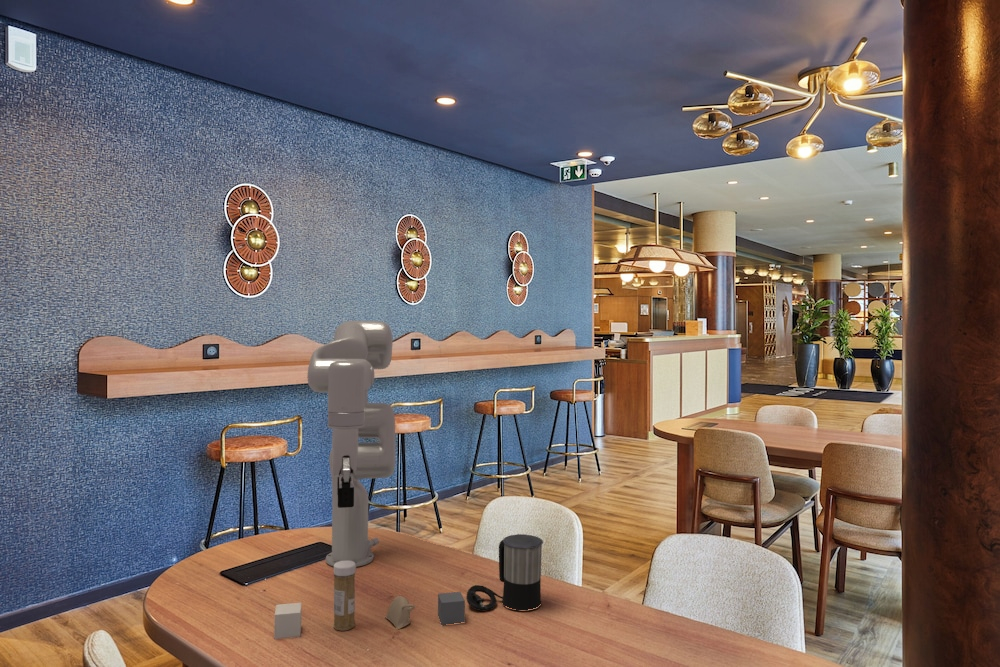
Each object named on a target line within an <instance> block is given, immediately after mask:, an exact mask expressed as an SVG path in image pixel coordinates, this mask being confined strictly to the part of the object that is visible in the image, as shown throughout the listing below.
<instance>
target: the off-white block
mask: <svg viewBox="0 0 1000 667" xmlns="http://www.w3.org/2000/svg"><path fill="white" fill-rule="evenodd" d="M274 611H275V612H274V625H273V626H274V633H273V634H274V636H273V637H274V640H277V639H278V640H280V639H288V638H297V637H299V638H300V637H301V630H302V602H294V603H291V602H290V603H283V604H276V605H275V610H274Z"/></svg>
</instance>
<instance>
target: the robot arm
mask: <svg viewBox="0 0 1000 667" xmlns="http://www.w3.org/2000/svg"><path fill="white" fill-rule="evenodd" d="M392 354H393V334H392V330H391V327H390V326H389V325H388V323H386V322H385V321H381V320H347V321H344V322H342V323H340V324H339V325H338V326H337V328H336V329H335V331H334V337H333V340H331V341H329V342H328V343H325V344H324V345H321V346H319V347H318V348H316V349H315V350H314V351H313V352H312V354H311V356H310V360H309V364H308V367H307V382H308V386H309V388H310V389H311V390H312V391H313V392H315V393H320V394H321V393H323V394H324V393H326V394H327V428H328V429H332V435H331V436H332V437H331V451H330V452H329V456H328V457H329V458H328V463H329V470H330V477H331V489H332V490H331V493H332V494H331V495H332V498H331V500H332V504H331V505H332V512H331V513H332V514H331V521H332V522H331V552H330V553H328V554H326V557H325V562H326V564H327V565H329V566H331V567H334V564H335V563H337V562H339V561H353V562H355V564H356V568H357V567H361V566H362V567H363V566H365V565H368V564H370V563H372V561H374V555H375V554H374V553H373V552H372V551H371V548H372V547H375V546H377V545H379V542H380V540H379V538H378V537H374V538H372V539H369V493H368V490H367V489H366V487H365V486H364V485H363V483H361V481H360V480H363V479H385V478H390V477H391V476H392V475H393V474H394V472H395V468H396V418H395V411H394V409H393V407H392V406H391V405H390V404H388V403H384V402H375V403H374V402H369V401H368V390H369V389H371V387H372V386H373V385H374V382H375V370H384V369H387V368H388V367H389V366H390V364H391V362H392V358H393V357H392V356H393V355H392ZM372 438H373V439H377V440H378V442H359V439H372Z"/></svg>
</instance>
